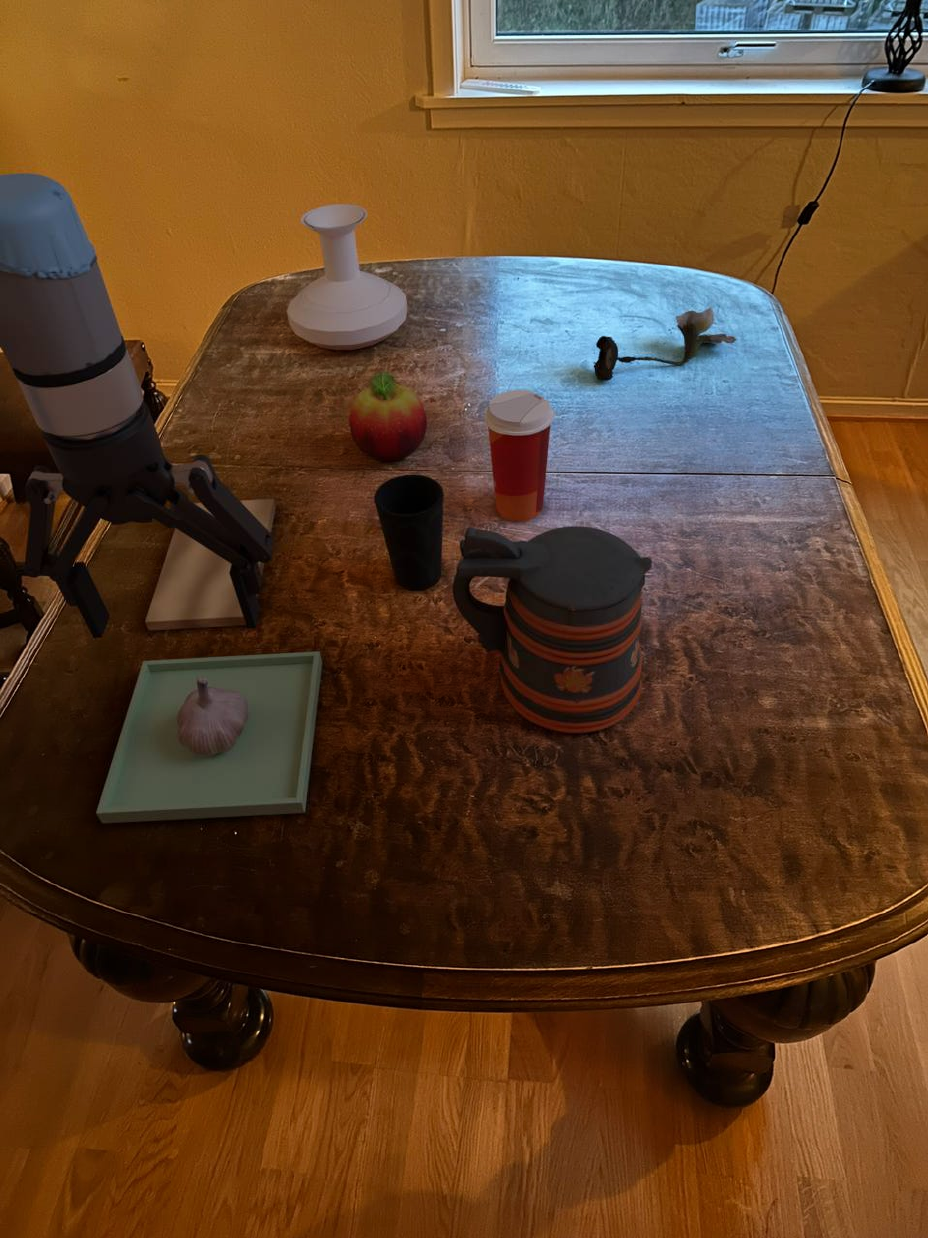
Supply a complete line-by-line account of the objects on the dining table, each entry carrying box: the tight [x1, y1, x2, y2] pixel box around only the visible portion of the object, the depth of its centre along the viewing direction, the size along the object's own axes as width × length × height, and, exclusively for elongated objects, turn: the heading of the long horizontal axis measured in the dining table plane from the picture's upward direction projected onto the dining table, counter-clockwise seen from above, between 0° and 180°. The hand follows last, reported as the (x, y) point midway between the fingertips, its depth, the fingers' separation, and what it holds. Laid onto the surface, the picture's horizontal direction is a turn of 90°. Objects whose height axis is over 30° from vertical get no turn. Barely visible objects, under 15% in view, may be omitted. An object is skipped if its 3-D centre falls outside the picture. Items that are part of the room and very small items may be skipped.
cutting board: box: [144, 498, 277, 632], centre depth 109 cm, size 12×22×2 cm, turn 2°
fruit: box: [348, 370, 428, 462], centre depth 122 cm, size 11×11×10 cm
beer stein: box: [452, 525, 653, 734], centre depth 86 cm, size 19×15×20 cm
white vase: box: [286, 203, 408, 351], centre depth 144 cm, size 20×20×19 cm
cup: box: [373, 473, 445, 592], centre depth 102 cm, size 8×8×12 cm
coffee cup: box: [484, 389, 555, 522], centre depth 109 cm, size 8×8×15 cm
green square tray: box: [95, 651, 323, 824], centre depth 89 cm, size 19×19×2 cm
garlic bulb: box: [177, 677, 248, 757], centre depth 87 cm, size 8×7×8 cm
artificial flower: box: [592, 306, 738, 382], centre depth 136 cm, size 9×22×10 cm, turn 106°
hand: (177, 622), depth 78 cm, fingers open, 13 cm apart
